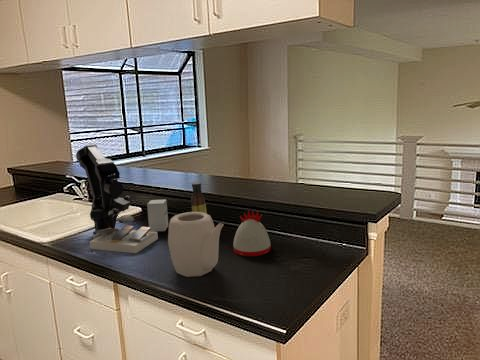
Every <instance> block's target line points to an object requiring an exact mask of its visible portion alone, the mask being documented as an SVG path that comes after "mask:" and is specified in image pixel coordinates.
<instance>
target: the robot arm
mask: <svg viewBox="0 0 480 360" xmlns="http://www.w3.org/2000/svg"><path fill="white" fill-rule="evenodd" d="M75 157H76V160H77V162H78V164H79V166H80V167H81V168H82V169H83V170H84V171H85V174H86V175H85V176H86V177H87V178H86V179H87V182H88V185H89V189H90V191H91V192H90V193H91V196H92V198H93V200H92V203H91V210H90V212H89V217H90V220H91V221H92V222H93V223H94V231H92V233H93V234H97V233H95V231H97V230H103V229H107V228H116V224H117V219H118V217H119V216H118V215H120V213H121V212H125V211H126V210H129V208H130V206H131V205H132V199H131V196H129V195H126V196H125V197H120V196H121V195H122V194H123V193H124V185H123V184H122V183H121V182H119V181H118V180H119V179H120V178H121V177H120V174H121V173H120V171H119V169H118V166H117V165H116V163H115V162H114V161H113V160H112V159H109V158H107V157H105V155H103V153H102V152H101V150H99V148H98V145H97V144H86V145H85V146H83V147H82V148H80V149H78V150H77V151H76V155H75Z"/></svg>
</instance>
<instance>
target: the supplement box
mask: <svg viewBox="0 0 480 360" xmlns="http://www.w3.org/2000/svg"><path fill="white" fill-rule="evenodd" d="M167 201H168V200H167V199H166V198H165V199H152V200H151V199H150V200H149V202H147V204H146V207H147V219H148V220H147V221H148V227H151V230H150V231H151V232H166V230H167V228H169V216H168V214H169V213H168V204H167Z"/></svg>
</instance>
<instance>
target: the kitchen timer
mask: <svg viewBox="0 0 480 360" xmlns="http://www.w3.org/2000/svg"><path fill="white" fill-rule="evenodd" d="M250 213H251V214H250ZM243 216H244V218H243ZM243 216H241V215H240V216H239V218H240V220H241V223H240V225H239V226H238V228H237V229H236V232H235V235H234V238H233V243H232V245H233V248H232V249H233V252H234V253H235V254H237V255H240V256H243V257H257V256H263V255H265V254H267V253H269V252H270V251H271V249H272V248H271V247H272V246H271V240H270V237H269V234H268V230H267V229H266V228H265V226H264V225H263V224H262V223H261V222H260V220H261V219H262V216H263V214H262V213H261V214H260V216H259V210H257V211H256V214H255V213H254V210H251V212H250V210H247V214H246V213H245V212H244V213H243Z"/></svg>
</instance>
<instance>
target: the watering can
mask: <svg viewBox="0 0 480 360" xmlns="http://www.w3.org/2000/svg"><path fill="white" fill-rule="evenodd" d="M223 227H224V223H223V222H222V223H221V222H219V223H218V224H217V225H216V226H215V224H214V221H213V218H212V217H211V215H210V214H208V213H207V214H206V213H203V212H192V211H189V212H188V211H187V212H183V213H178V214H174V216H172V217H171V218H170V219H169V222H168V234H167V237H168V238H167V245H168V248H169V249H168V250H169V253H170V259H171V263H172V265H173V267H174V269H175V272H176V273H177V274H179V275H181V276H184V277H187V278H190V277H191V278H192V277H202V276H204V275H206V274H208V273H209V272H212V271H213V268H215V266H216V265H217V264H218V262H219V250H220V248H219V245H220V244H219V243H220V235H221V231H222V229H223Z"/></svg>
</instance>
